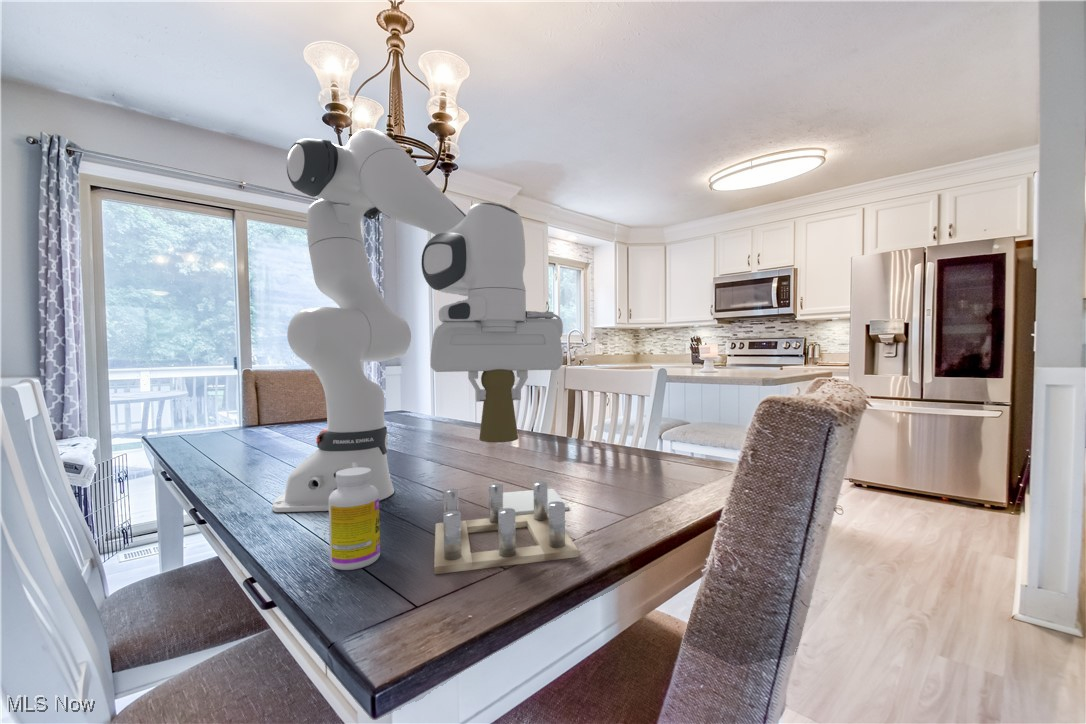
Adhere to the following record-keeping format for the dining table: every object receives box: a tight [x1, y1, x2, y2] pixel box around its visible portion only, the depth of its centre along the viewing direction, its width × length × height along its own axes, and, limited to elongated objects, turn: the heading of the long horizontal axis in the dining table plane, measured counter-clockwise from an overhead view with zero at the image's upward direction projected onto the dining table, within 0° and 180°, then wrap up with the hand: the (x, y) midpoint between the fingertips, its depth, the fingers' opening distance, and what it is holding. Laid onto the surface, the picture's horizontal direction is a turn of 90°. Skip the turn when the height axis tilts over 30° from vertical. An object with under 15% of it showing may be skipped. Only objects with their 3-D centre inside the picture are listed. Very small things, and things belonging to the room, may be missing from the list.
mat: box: [503, 488, 570, 516], centre depth 88 cm, size 12×12×1 cm
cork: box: [478, 369, 519, 444], centre depth 70 cm, size 6×6×11 cm
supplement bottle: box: [328, 467, 381, 571], centre depth 64 cm, size 7×7×13 cm
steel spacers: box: [442, 481, 566, 560], centre depth 70 cm, size 17×15×6 cm
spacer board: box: [433, 513, 580, 575], centre depth 70 cm, size 20×16×1 cm
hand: (498, 400), depth 70 cm, fingers closed on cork, 4 cm apart
